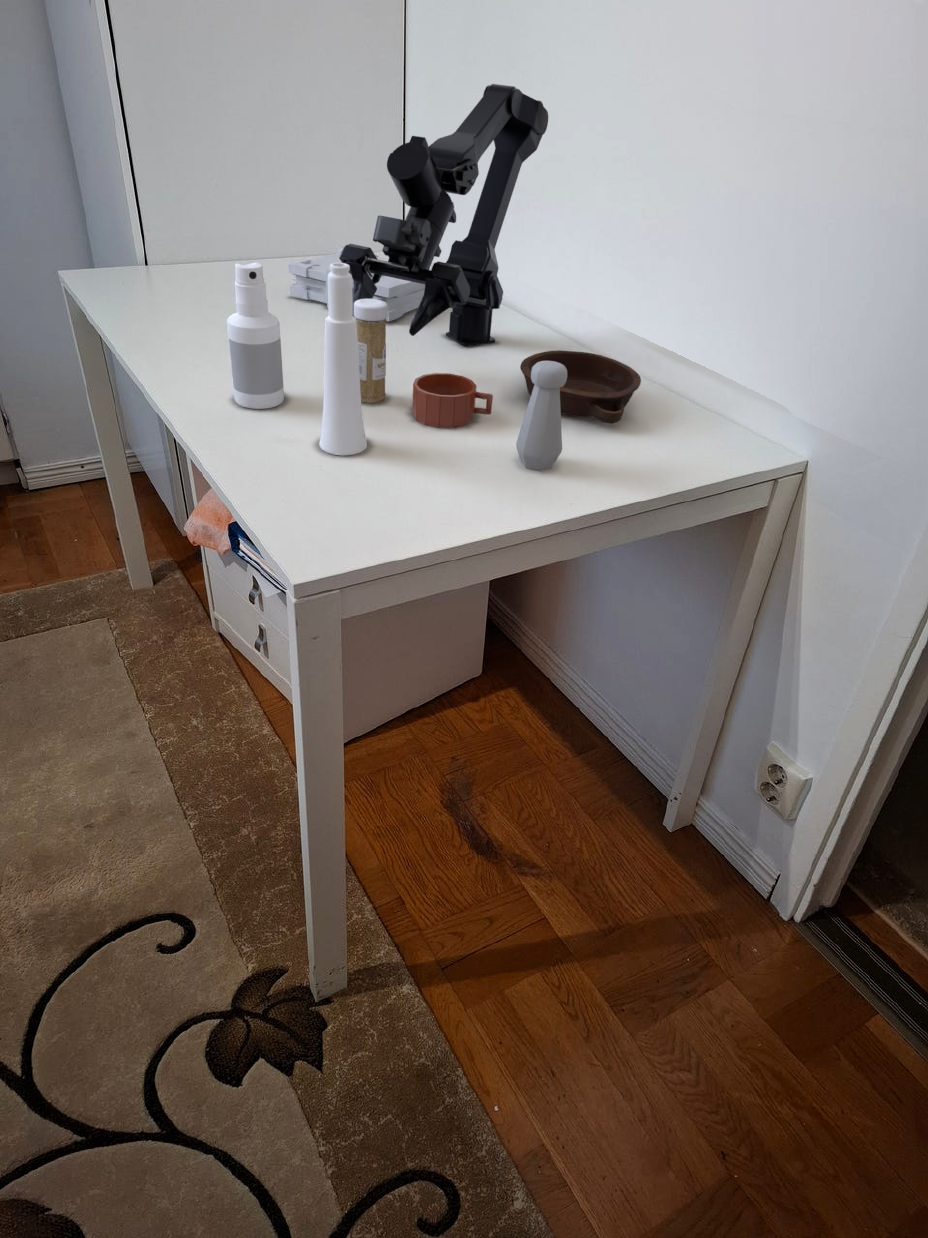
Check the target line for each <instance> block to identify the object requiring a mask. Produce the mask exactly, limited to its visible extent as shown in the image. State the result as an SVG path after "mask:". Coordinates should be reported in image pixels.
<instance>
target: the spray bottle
mask: <svg viewBox="0 0 928 1238" xmlns="http://www.w3.org/2000/svg"><path fill="white" fill-rule="evenodd" d="M263 267H264V266H263V264H261V263H260V262H256V261H254V262H252V263H247V264H242V263H238V262H236V263H235V264H234V271H235V272H234V273H235V282H234V290H235V291H234V292H235V308H236V312H234V313H232V314H230V315H229V317H228V318H227V319H226V327H227V329H226V330H227V339H228V349H229V360H230V369H231V370H230V371H231V379H232V389H233V390H232V391H233V398H234V402H235V403H236V404H238V405H239V406H240V407H243V408H246V409H247V408H248V409H252V410H253V409H255V410H264V409H265V410H266V409H271V408H274V407H277V406H280V405H281V404H283V402H284V400H285V389H284V373H283V355H282V339H281V323H280V320H279V318H278V317H277V316H276V315H274V314H273V313H271V312H269V304H268V299H267V284H266V282H265V278H264V268H263Z"/></svg>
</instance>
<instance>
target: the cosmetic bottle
mask: <svg viewBox="0 0 928 1238" xmlns="http://www.w3.org/2000/svg"><path fill="white" fill-rule="evenodd" d="M330 270H331V272H330V273H329V274H328V307H327V308H328V315H327V316H325V318H324V346H323V347H324V348H323V349H324V351H323V353H324V355H323V368H324V369H323V371H324V372H323V403H322V404H323V405H322V406H323V407H322V421H321V429H320V435H319V444H318V445H319V447H320V449H321V450H322V451H323V452H325V453H327V454H330V455H336V456H353V455H357V454H360V453H362V452H364V451H365V450H366V449H367V447H368V443H367V437H366V432H365V426H364V418H363V408H362V401H361V394H360V377H359V357H358V339H357V324H356V318H355V317H353V306H352V275H351V274H350V273H349V270H350V266H349V265H348V264H345V263H332V264H330Z"/></svg>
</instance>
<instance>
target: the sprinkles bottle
mask: <svg viewBox="0 0 928 1238" xmlns="http://www.w3.org/2000/svg"><path fill="white" fill-rule="evenodd" d="M354 316H355V318H356V324H357V339H358V357H359V377H360V394H361V403H367V404H376V403H380V402H383V401H384V400H385V399H386V397H387V394H386V376H387V375H386V374H387V372H386V370H387V341H386V339H387V338H386V337H387V332H386V331H387V321H386V318H387V303H386V302H384V301H382V300H378V299H359V300H357V301H355V302H354Z"/></svg>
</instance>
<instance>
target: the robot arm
mask: <svg viewBox="0 0 928 1238" xmlns="http://www.w3.org/2000/svg"><path fill="white" fill-rule="evenodd" d="M548 124H549V112H548V110H547V109H546V108H545V106H544V103H543V101H542V100H537V99H535V98H533V97H531V96H529V95H527V94H525V93H523V92H522V91H521V89H519V88H517V87H516V86H513V85H505V84H497V83H491V84H489V85H486V87H485V88H484V91H483V94H482V97H481V98H480V99H479V101H478V102H477V103H476V105H475V106H474V107H473V109H472V110H471V111H470V112H469V114H468V115H467V116H466V117H465V118H464V120H463V121H462V123H460V125H459V126H458V127H457V129H456V130H455V131H454V132H453V133H451V134H449V135H444V136H442V137H439V138H436V139H435V140H434V142H432V143H431V144H430V145H429V143H428V141H427V138H426V137H425V136H418V135H412V136H410V137H411V138H410V139H409V141H408V142H405V143H403V144H401V145H399V146H398V147H396V148H395V149H394V150H393V151H392V152H391V153H389V155H388V157H387V161H386V169H387V172H388V175H389V176H390V178H391V180H392V182H393V184H394V186H395V188H396V190H397V191H398V194H399V196H400V198H401V200H402V202H403V203H404V204H405V205H406V206H408V207H409V208H408V212H407V214H406V216H405V219H401V218H397V217H391V216H385V215H377V218H376V222H375V227H374V232H373V236H372V241H373V242H375V243H379V244H381V245H383V247H382V249H381V251H382V253H383V254H384V256H387V257H388V261H383V260H378V259H377V258H376V256H375V255H376V254H375V253H374V250H373V249H372V247H369V246H365V245H364V246H363V245H359V244H355V243H348V244H345V246H344V248H343V247H342V248H343V250H342V253H341V255H340V257H339V259H340V260H341V262H342V263H345V264H348V265H349V266H350V270H349V273H350V274H351V275H352V278H353V284H354V298H353V317H355V316H354V302H355V301H357V300H359V299H372V298H373V296H374V294H375V292H376V291H377V287H376V286H375V284H376V283H378V282H379V280H380V278H381V276H382V275H383V276H388V277H392V278H397V279H402V280H406V281H411V282H416V283H420V284H425V290H424V295H423V298H422V300H421V302H420V304H419V307H418V308H416V311H415V314H414V315H413V318H412V321H411V323H410V326H409V330H408V333H409V335H410V336H413V337H415V335H416V334H418V333H419V332H420V331H421V330H423V329H424V328H425V327H426V326H427V325H428V324H430V323H431V322H432V321H433V320H434V319H435V318H437V317H438V316H439V315H441V314H442V313H444V312H445V311H447V310H448V309H452V310H451V311H450V312H449V327H448V328H449V329H448V331H447V332H445V336H446V337H447V338H449V339H451V340H453V341H454V342H455V343H458V344H459V345H461V346H462V347H473V346H478V345H479V346H480V345H486V344H493V343H496V338H494V337H492V336H491V331H492V321H493V310H498V309H500V308H501V304H502V301H503V296H504V290H503V287H502V284H501V282H500V280H499V277H498V273H499V264H498V258H497V253H496V246H497V243H498V239H499V237H500V234H501V231H502V227H503V224H504V221H505V218H506V215H507V212H508V209H509V205H510V202H511V199H512V196H513V193H514V191H515V190H514V189H515V187H516V184H517V180H518V178H519V175H520V172H521V168H522V165H523V163H524V162H525V161H526V160H527V159H529V157H531V156H532V155H533V154H534V153H535V152H536V151H537V150H538V148H539V145H540V143H541V140H542V138H543V136H544V135H545V133H546V131H547V129H548V126H549V125H548ZM492 143H493V144H494V151H493V155H492V158H491V161H490V165H489V168H488V170H487V173H486V177H485V180H484V183H483V187H482V189H481V193H480V196H479V199H478V202H477V206H476V207H475V211H474V213H473V218H472V221H471V224H470V228H469V230H468V234H467V236H466V237H465V238H463V240H457V239H456V240H454V241H453V243H452V244H451V248H450V252H449V256H448V258H447V259H446V262H443V261H438V260H437V261H435V262H433V261H434V258H435V257H436V258H440V256H441V254H442V249H441V247H440V244H441V242H442V240H443V236H444V235H445V232H446V229H447V227H448V225H449V223H451V224H456V222H457V213H456V210H455V204H454V201H453V200H452V198H451V196H450V194H453V195H460V196H466V195H467V194H469V192H470V191H471V190H472V188H473V187H474V185H475V183H476V180H477V179H478V176H479V175H480V171H479V161H480V159H481V158H482V156H483V155H484V154H485V152H486V151H487V150H488V148H489V147H490V146H491V145H492ZM432 263H433V265H432ZM431 266H432V267H431ZM429 268H432V269H431V270H429Z"/></svg>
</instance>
